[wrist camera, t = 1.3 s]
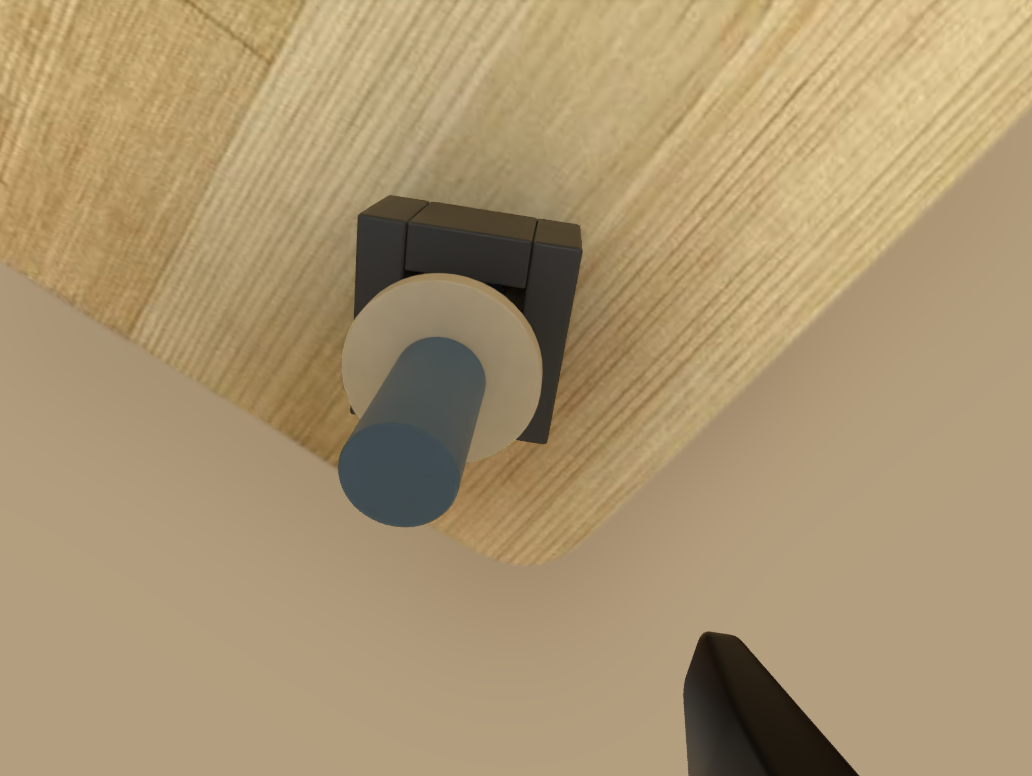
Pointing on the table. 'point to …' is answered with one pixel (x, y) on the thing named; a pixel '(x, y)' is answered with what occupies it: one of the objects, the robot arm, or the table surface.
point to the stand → (478, 268)
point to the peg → (432, 392)
